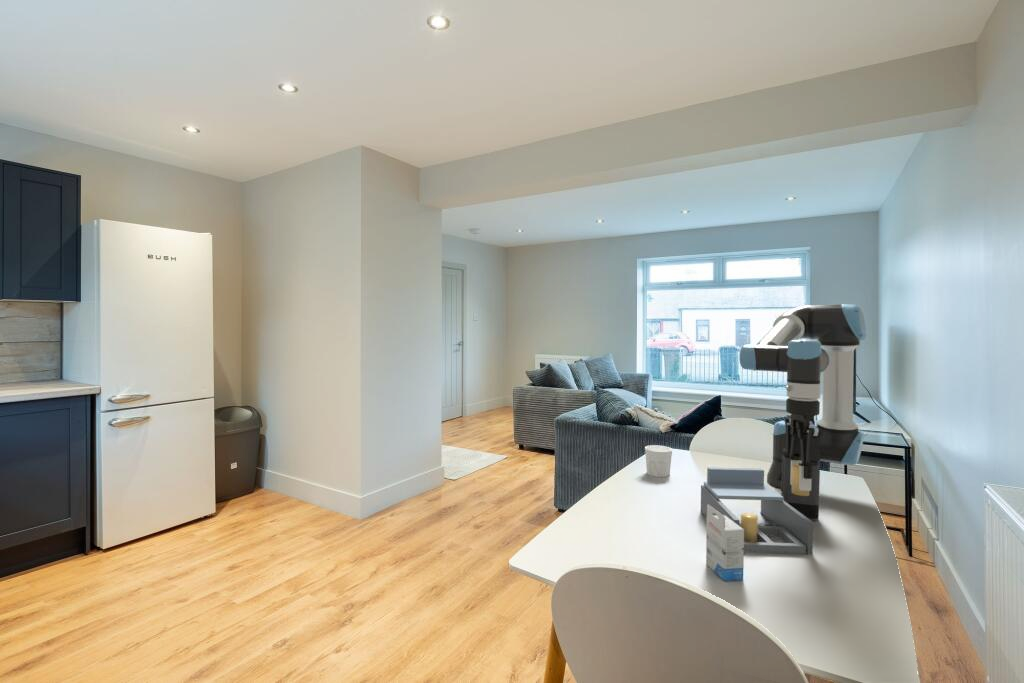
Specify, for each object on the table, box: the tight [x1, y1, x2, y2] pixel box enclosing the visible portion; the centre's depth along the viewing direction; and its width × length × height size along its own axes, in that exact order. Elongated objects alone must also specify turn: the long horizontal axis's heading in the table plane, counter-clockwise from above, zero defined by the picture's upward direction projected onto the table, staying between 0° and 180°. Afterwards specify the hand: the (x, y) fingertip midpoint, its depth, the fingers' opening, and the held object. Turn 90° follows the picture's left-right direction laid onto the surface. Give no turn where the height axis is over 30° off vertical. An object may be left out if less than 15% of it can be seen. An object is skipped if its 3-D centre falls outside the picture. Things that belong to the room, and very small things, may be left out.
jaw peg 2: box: [792, 465, 809, 496], centre depth 127 cm, size 4×4×7 cm
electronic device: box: [780, 448, 821, 522], centre depth 146 cm, size 9×6×20 cm, turn 71°
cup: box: [644, 444, 673, 478], centre depth 187 cm, size 10×10×10 cm
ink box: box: [705, 504, 745, 582], centre depth 113 cm, size 9×5×15 cm, turn 5°
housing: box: [700, 484, 814, 555], centre depth 136 cm, size 19×27×8 cm
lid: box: [703, 466, 784, 501], centre depth 142 cm, size 18×12×6 cm, turn 86°
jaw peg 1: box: [740, 512, 759, 542], centre depth 129 cm, size 4×4×7 cm
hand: (800, 487), depth 127 cm, fingers closed on jaw peg 2, 4 cm apart
